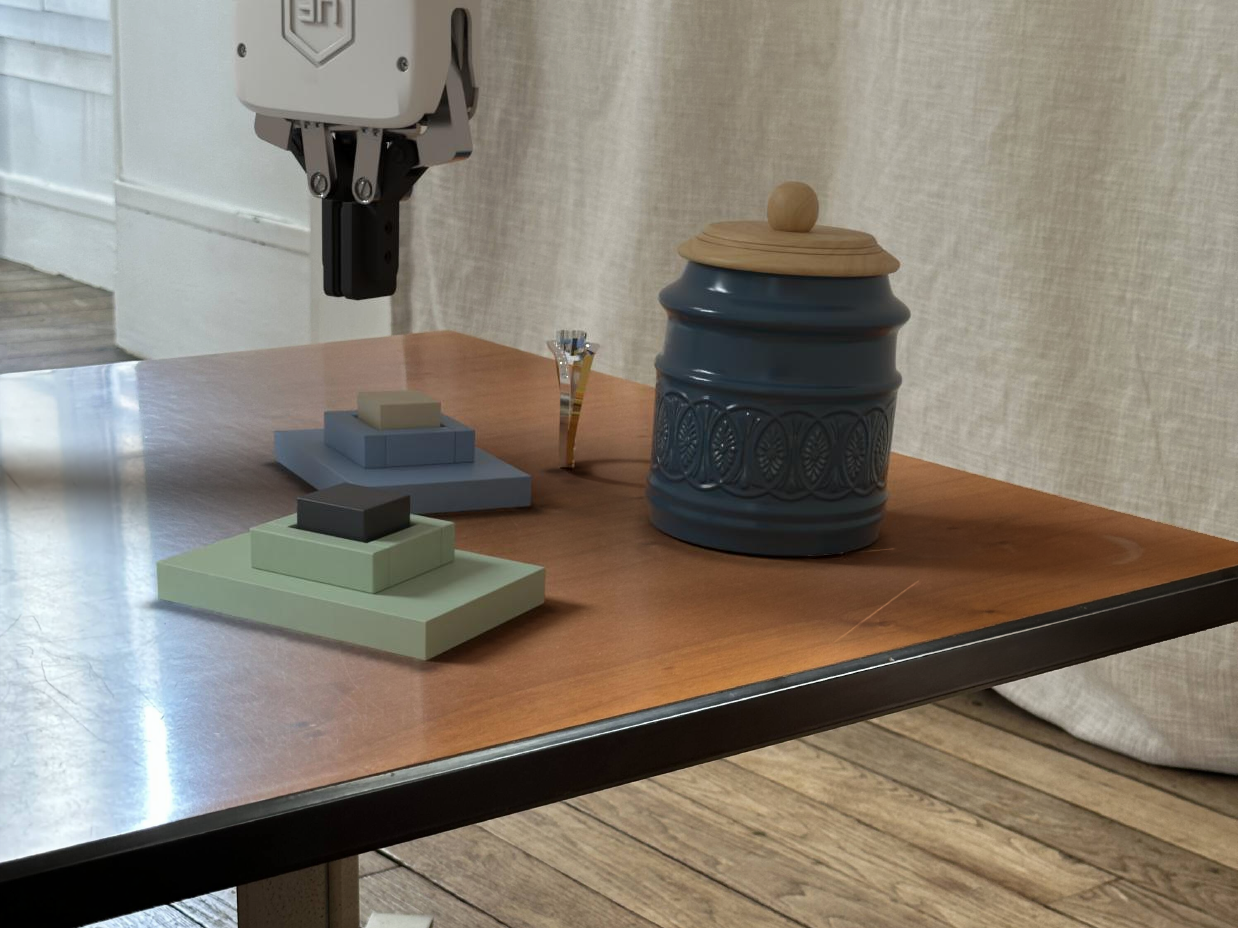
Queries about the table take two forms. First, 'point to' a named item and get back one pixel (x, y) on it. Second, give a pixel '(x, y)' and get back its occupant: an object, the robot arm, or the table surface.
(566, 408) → the ring
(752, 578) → the table surface
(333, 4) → the robot arm
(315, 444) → the blue stepped base
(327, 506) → the key
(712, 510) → the canister
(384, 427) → the key
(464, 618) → the stepped pedestal base
